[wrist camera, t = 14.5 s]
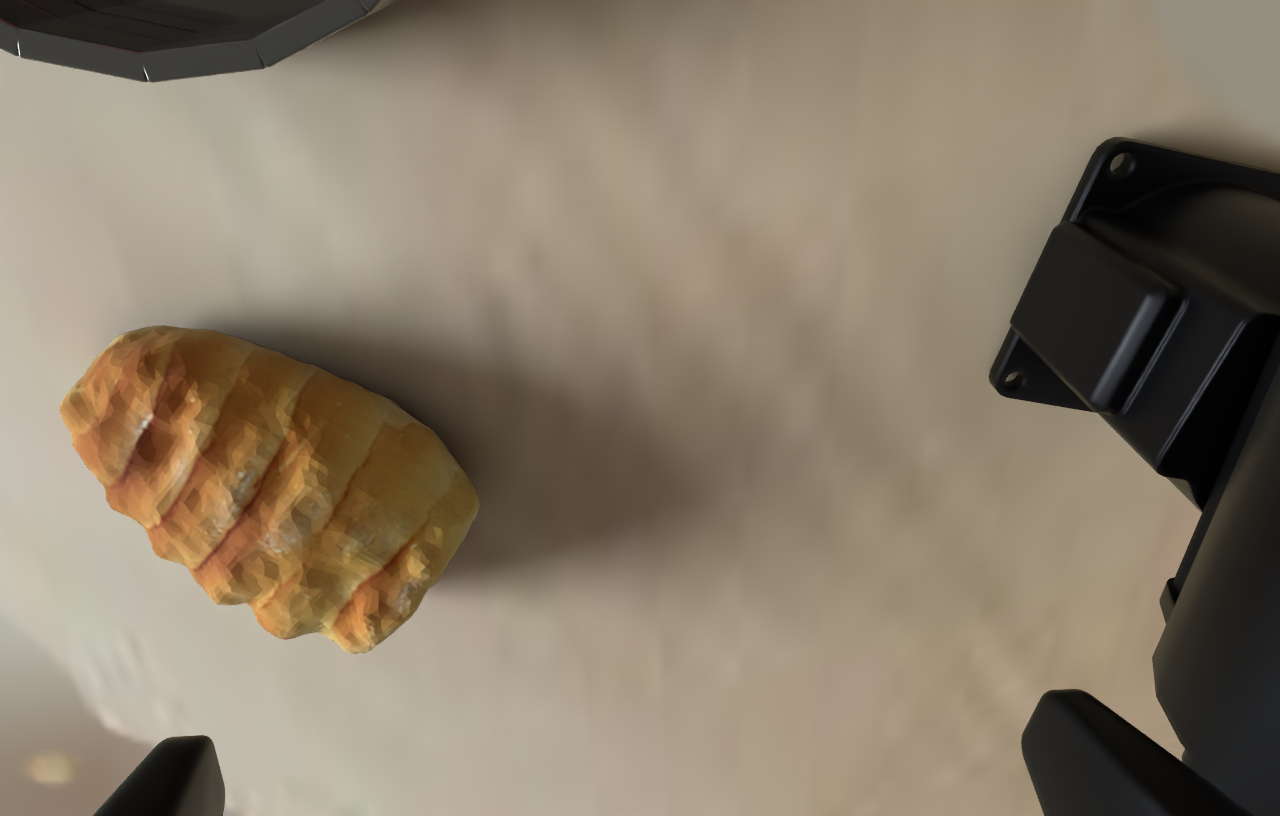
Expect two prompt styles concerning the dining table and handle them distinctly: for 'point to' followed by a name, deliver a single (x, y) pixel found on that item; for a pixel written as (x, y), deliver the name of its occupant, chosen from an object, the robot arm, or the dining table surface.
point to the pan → (172, 33)
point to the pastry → (272, 480)
